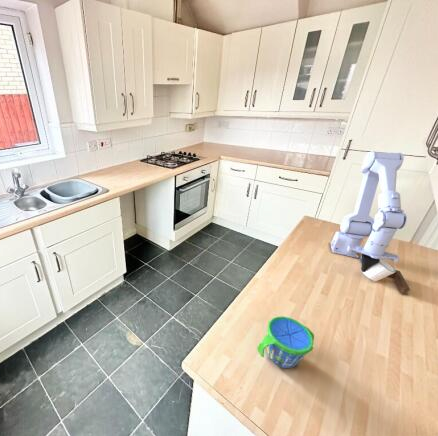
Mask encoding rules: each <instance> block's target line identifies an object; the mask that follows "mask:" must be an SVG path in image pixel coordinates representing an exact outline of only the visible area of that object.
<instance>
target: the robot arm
mask: <svg viewBox="0 0 438 436" xmlns="http://www.w3.org/2000/svg"><path fill="white" fill-rule="evenodd" d="M404 158H405V157H404V154H403V152H387V151H385V152H384V151H383V152H382V151H373V150H371V151H369V152H368V153H366V155H365V156H364V158H363V161H362V165H361V167H360V168H361V169H360V172H361V173H362V174H363V177H362V180H361V185H360V189H359V192H358V196H357V199H356V202H355V206H354V209H353V210H354V211H353V212H351V213H349V214H346V215H344V216H343V219H342V221H341V223H340V227H339V228H340V229H339V230H340V231H339V230H338V231H335V233H334V235H333V237H332V239H331V242H330V248H331V252H332V253H333V254H338V255H343V256H347V257H351V258H355V259H358V258H359V255H358V254H361V258H362V261H361V267H360V270H361V272H362V273H363V272H365V271H366V270H367V269H368V268H369V267H371V266H372V265H374V264H377V263H379V261H380V260H379V258H381V259H383V260H386V261H388V260H389V261H392V262H394V263H398V261H399V260H400V257H399V255H397V254H393V253H390V252H388V251H386V250H387V249H388V247H389V245H390V243H391V242H392V239H393V238H394V236H395V234H396V232H397V230H402V229H404V227H405V226H406V224H407V220H408V215H407V214H406V213H405V210H403V209H402V203H401V201H402V199H401V194H400V193H399V192H398V191H396V190H397V188H396V187H397V177H398V171H399V170H400V168H401V167H402V165H403V163H404V160H405V159H404ZM378 185H380V191H381V192H380V193H379V194H378V195H377V213H376V214H375V215H374V218H373V217H372V216H370V213H371V209H372V206H373V202H374V199H375V195H376V193H377V190H378V189H377V188H378ZM367 237H368V238H367ZM366 238H367V240H366V243H365V244H364V246H363V245H361V244H362V243H363V240H364V239H366Z"/></svg>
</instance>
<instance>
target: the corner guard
mask: <svg viewBox="0 0 438 436" xmlns="http://www.w3.org/2000/svg"><path fill="white" fill-rule="evenodd" d="M395 271H396V272H395V273H393V274H391V275H389V276H387V277H389V278H392V279H393V280H394V282H395V284H396V286H397V288H398V290H399V291H400V294H401V295H404V296H406V295H407V294H408V293H409V292H410V290H411V287H410V286H409V284H408V283H407V281H406V280H405V278H404V276H403V274H402V272H401V271H400V270H397V269H395Z"/></svg>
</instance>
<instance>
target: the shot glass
mask: <svg viewBox="0 0 438 436" xmlns="http://www.w3.org/2000/svg"><path fill="white" fill-rule="evenodd" d="M379 260H380V261H379V263H377V264H374V265H372V266H371V267H369V268H368V269H367V270H366V271H365V272H362V273H363V275H365V276H366V277H367V278H368V279H369V280H371V281H373V282H378V281H380V280H382V279H385V278H386V277H388V276H389V275H391V274H393V273H395V272H396V271H395V270H396V269H395V267H394V266H392V264H390V263H389V262H387V260H386V259H383V258H379Z"/></svg>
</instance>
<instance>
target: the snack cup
mask: <svg viewBox="0 0 438 436" xmlns="http://www.w3.org/2000/svg"><path fill="white" fill-rule="evenodd" d="M266 331H267V334H266V335H265V336H264V337H263V338H262V340H261V341H260V343H258V344H257V347H256V349H257V352H258V354H259V355H260V357H261V358H265V349H266V352H267V355H268V358H269V359H270V360H271V361H272V362H273V363H274V364H275V365H277V366H279V367H280V368H283V369H291V368H294V367H295V366H296V365H297V364H298V363H299V362H300V361H301V360H302V359H303V358H304V357H305V356H306V355H307V354H309V353H310V352H311V351H313V349H314V340H315V334H314V333H313V331H312V330H311V329H309V327H307V326H305V325H304V324H302V323H301V322H300V321H298V320H296V319H294V318H291V317H288V316H284V315H280V316H279V315H278V316H274V317H272V318H271V319H269V321H268V324H267V329H266Z"/></svg>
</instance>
